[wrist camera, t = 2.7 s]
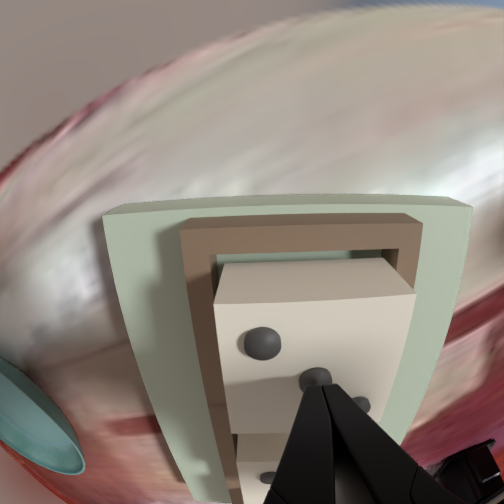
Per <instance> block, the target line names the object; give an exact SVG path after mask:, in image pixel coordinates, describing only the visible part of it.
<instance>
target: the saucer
mask: <svg viewBox="0 0 504 504" xmlns="http://www.w3.org/2000/svg"><path fill="white" fill-rule="evenodd" d="M0 439H1V440H2V441H4V442H5V443H6V444H7V445H8V446H10V447H11V448H12V449H14V450H16V451H17V452H18V453H20V454H21V455H23V456H24V457H26V458H27V459H29V460H31V461H33V462H34V463H36V464H38V465H40V466H42V467H45V468H47V469H49V470H52V471H55V472H58V473H61V474H66V475H78V474H81V473H83V472H84V470H85V467H86V465H85V459H84V455H83V452H82V448H81V446H80V443H79V441H78V439H77V436H76V434H75V432H74V430H73V428H72V426H71V424H70V423H69V421H68V419H67V418H66V416H65V415H64V414H63V412H62V411H61V410H60V408H59V407H58V406H57V405H56V404H55V402H54V401H53V400H52V399H51V398H50V397H49V396H48V395H47V394H46V393H45V392H44V391H43V390H42V389H41V388H40V387H39V386H38V385H37V384H36V383H34V382H33V381H32V380H31V379H30V378H29V377H28V376H26V375H25V374H24V373H22V372H21V371H20V370H19V369H17V368H16V367H14V366H13V365H11V364H10V363H8V362H6V361H4V360H3V359H1V358H0Z"/></svg>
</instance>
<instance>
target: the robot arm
mask: <svg viewBox="0 0 504 504" xmlns="http://www.w3.org/2000/svg"><path fill="white" fill-rule="evenodd" d="M495 443H496V441H495V439H492V440H490V441H488V442H486V443H484V444H481V445H479V446H477V447H474V448H472V449H470V450H467V451H465V452H462V453H460V454H457V455H454V456H452V457H450V458H449V459H448V460H447V461H446V462H445V464H444V465H443V466H442V467H441V469H440V470H439V471H438V472H437V474H436V475H435V476H434V477H432V476H431V475H430V474H429V473H428V472H426V471H425V470H424V469H423V468H422V467H421V466H418V463H417V462H416V461H415V460H414V459H413V458H412V457H411V456H410V455H409V454H408V453H407V452H406V451H404V450H403V449H402V448H401V447H400V446H399V445H398V444H397V443H396V442H395V441H394V440H393V439H392V438H391V437H390V436H389V435H388V434H387V433H386V432H385V431H384V430H383V429H382V428H381V427H380V426H379V425H378V424H377V423H376V422H375V421H374V420H373V419H372V418H371V417H370V416H369V415H368V414H367V413H366V412H365V411H364V410H363V409H362V408H361V407H360V406H359V405H358V404H357V403H356V402H355V401H354V400H353V399H352V398H351V397H350V396H349V395H348V394H347V393H346V392H345V391H344V390H343V389H342V388H341V387H340V386H339V385H338V384H337V383H332V384H323V385H322V386H321V385H308V386H306V387H305V389H304V392H303V395H302V398H301V401H300V404H299V407H298V411H297V414H296V417H295V420H294V423H293V426H292V429H291V432H290V434H289V437H288V440H287V443H286V446H285V449H284V451H283V454H282V457H281V459H280V462H279V465H278V467H277V470H276V473H275V475H274V478H273V480H272V483H271V485H270V489H269V490H268V492H267V495H266V497H265V500H264V502H263V504H494V503H496V502H497V501H498V500H499V499H501V498H503V497H504V481H503V479H502V477H501V475H500V473H501V472H500V469H499V467H498V466H497V464H496V462H495V460H494V458H493V456H492V454H491V452H490V449H491V448H492V447H493V445H494V444H495ZM497 504H504V499H503V500H502V501H500V502H499V503H497Z"/></svg>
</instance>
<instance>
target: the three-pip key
mask: <svg viewBox="0 0 504 504" xmlns="http://www.w3.org/2000/svg"><path fill="white" fill-rule="evenodd" d="M416 295H417V293H416V292H415V291H414V290H413V289H412V288H411V287H410V285H409V284H408V283H407V282H406V281H405V280H404V279H403V278H402V277H401V276H400V275H399V274H398V273H397V272H396V271H395V269H394V268H393V267H392V266H391V265H390V264H389V263H388V262H387V261H386V260H385V259H384V258H362V259H337V260H310V261H282V262H251V263H224V267H223V271H222V274H221V278H220V282H219V285H218V289H217V293H216V296H215V300H214V304H213V305H214V314H215V322H216V330H217V338H218V346H219V354H220V361H221V368H222V376H223V383H224V390H225V396H226V403H227V410H228V416H229V422H230V429H231V433H232V434H262V433H288V432H291V429H292V426H293V423H294V420H295V417H296V414H297V411H298V407H299V404H300V401H301V398H302V395H303V392H304V389H305V387H306V386H308V385H321V386H322V385H323V384H332V383H337V384H338V385H339V386H340V387H341V388H342V389H343V390H344V391H345V392H346V393H347V394H348V395H349V396H350V397H351V398H352V399H353V400H354V401H355V402H356V403H357V404H358V405H359V406H360V407H361V408H362V409H363V410H364V411H365V412H366V413H367V414H368V415H369V416H370V417H371V418H372V419H373V420H374V421H375V422H380V420H381V418H382V415H383V412H384V410H385V407H386V404H387V401H388V398H389V395H390V393H391V390H392V387H393V383H394V380H395V377H396V374H397V371H398V368H399V364H400V361H401V357H402V354H403V350H404V346H405V343H406V339H407V335H408V331H409V327H410V323H411V319H412V314H413V310H414V305H415V300H416Z"/></svg>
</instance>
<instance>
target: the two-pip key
mask: <svg viewBox="0 0 504 504" xmlns="http://www.w3.org/2000/svg"><path fill="white" fill-rule="evenodd" d="M289 434H290V432H288V433H262V434H238V443H237V457H236V464H237V469H238V475H239V480H240V486H241V491H242V496H243V501H244V504H263V502H264V500H265V497H266V495H267V492H268V490H269V489H270V485H271V483H272V480H273V478H274V475H275V473H276V470H277V467H278V465H279V462H280V459H281V457H282V454H283V451H284V449H285V446H286V443H287V440H288V437H289Z"/></svg>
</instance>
